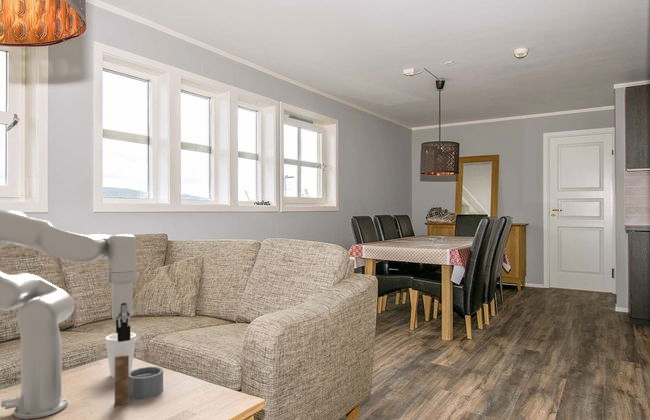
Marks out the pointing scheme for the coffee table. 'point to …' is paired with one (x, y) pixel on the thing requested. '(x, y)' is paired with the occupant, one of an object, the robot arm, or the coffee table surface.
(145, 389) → the faceted hollow tube
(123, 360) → the brown wooden bar
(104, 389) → the coffee table surface
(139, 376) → the grey hollow box
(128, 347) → the foam cup
